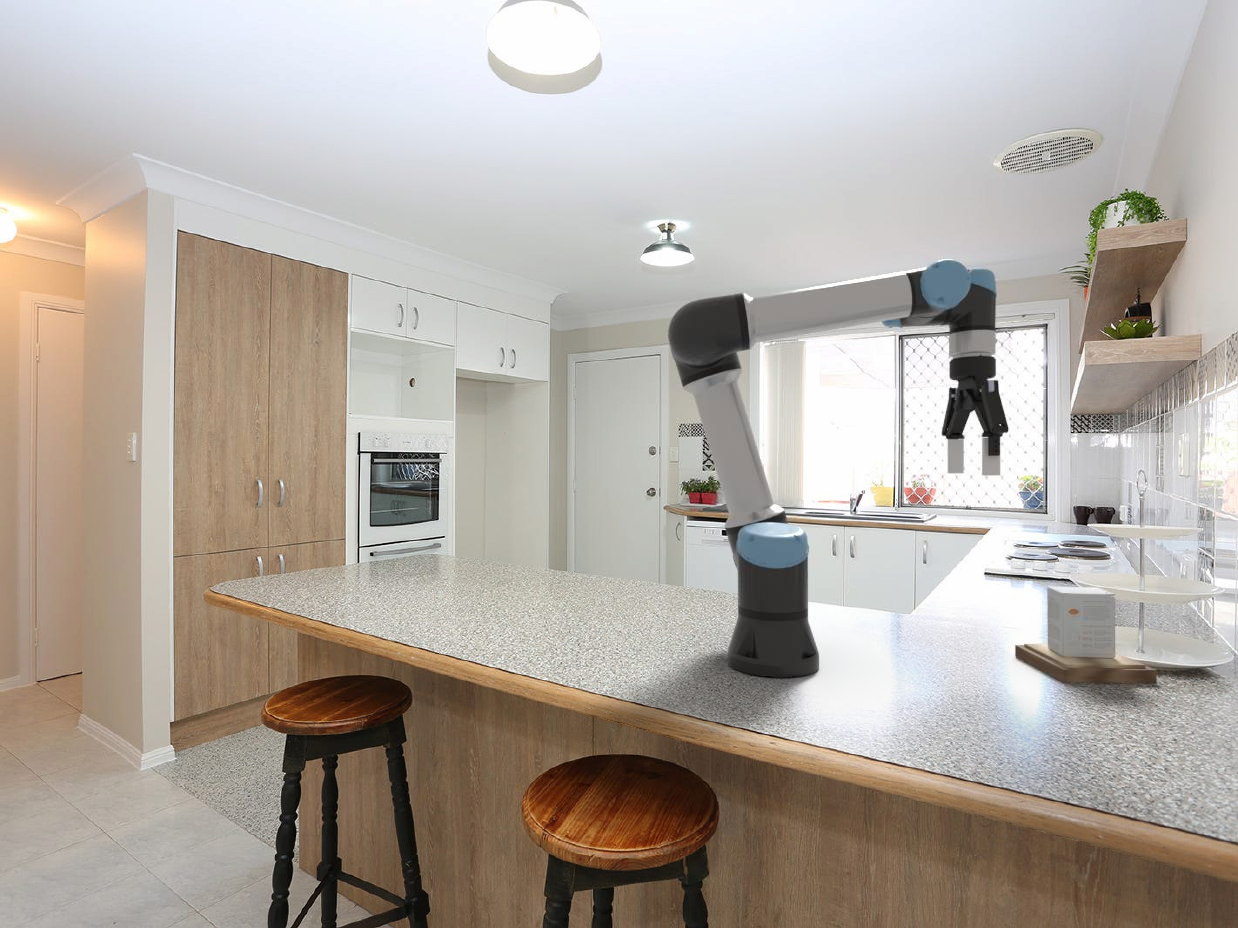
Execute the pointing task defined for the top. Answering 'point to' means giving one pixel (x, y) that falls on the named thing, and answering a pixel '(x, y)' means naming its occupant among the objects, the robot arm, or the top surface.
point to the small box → (1081, 622)
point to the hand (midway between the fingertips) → (972, 474)
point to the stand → (1085, 666)
